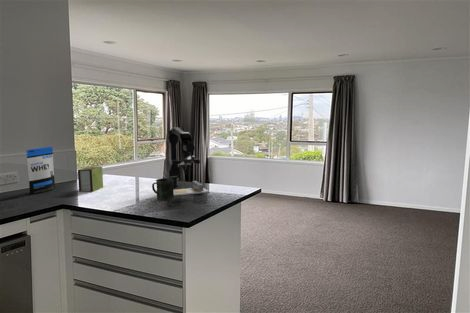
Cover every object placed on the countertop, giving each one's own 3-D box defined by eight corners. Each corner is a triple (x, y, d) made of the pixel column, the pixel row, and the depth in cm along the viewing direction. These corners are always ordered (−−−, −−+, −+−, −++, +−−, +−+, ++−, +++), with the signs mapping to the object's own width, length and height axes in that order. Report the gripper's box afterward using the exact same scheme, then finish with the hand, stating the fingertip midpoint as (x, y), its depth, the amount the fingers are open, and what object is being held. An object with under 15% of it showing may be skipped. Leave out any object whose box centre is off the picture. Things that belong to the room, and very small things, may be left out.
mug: (169, 201, 214) (168, 181, 212) (148, 199, 218) (147, 180, 217) (177, 197, 224) (176, 178, 223) (157, 195, 228) (156, 177, 227)
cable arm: (191, 186, 248) (191, 181, 248) (196, 186, 249) (196, 180, 249) (198, 191, 233) (198, 185, 232) (203, 190, 234) (203, 184, 234)
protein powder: (23, 194, 233) (20, 149, 230) (49, 187, 257) (46, 146, 253) (36, 195, 231) (32, 150, 228) (60, 187, 255) (58, 146, 252)
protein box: (103, 187, 256) (102, 166, 254) (93, 192, 241) (91, 169, 239) (89, 187, 257) (88, 166, 255) (78, 191, 242) (77, 169, 240)
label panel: (169, 191, 241) (168, 189, 241) (202, 188, 251) (202, 186, 251) (174, 195, 228) (173, 193, 228) (209, 192, 237) (208, 190, 237)
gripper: (173, 153, 221) (174, 177, 223) (202, 151, 228) (202, 175, 230) (170, 151, 232) (170, 174, 233) (197, 150, 239) (197, 173, 240)
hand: (185, 174), depth 234 cm, fingers closed
